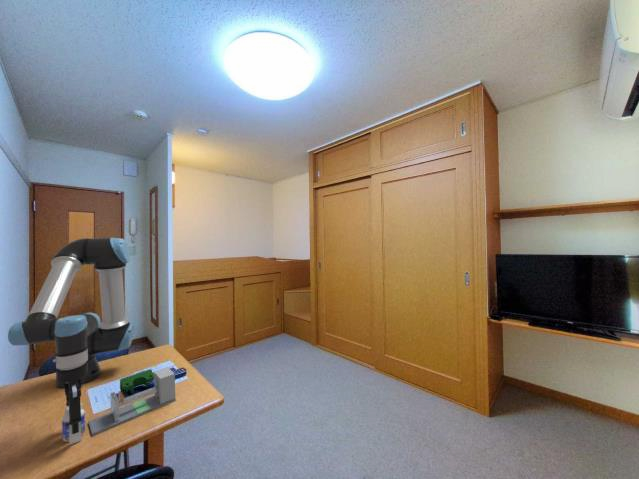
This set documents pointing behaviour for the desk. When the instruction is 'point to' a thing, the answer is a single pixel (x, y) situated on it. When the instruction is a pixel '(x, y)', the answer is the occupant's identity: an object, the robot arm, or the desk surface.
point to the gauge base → (140, 403)
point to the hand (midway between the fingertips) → (74, 435)
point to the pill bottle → (66, 428)
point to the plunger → (127, 400)
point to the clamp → (136, 380)
